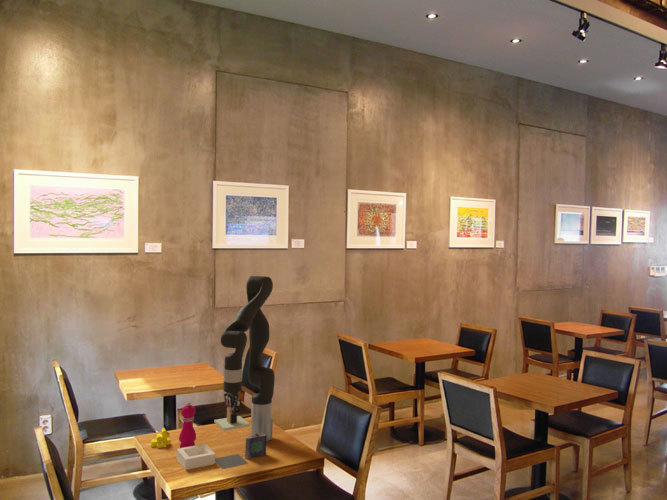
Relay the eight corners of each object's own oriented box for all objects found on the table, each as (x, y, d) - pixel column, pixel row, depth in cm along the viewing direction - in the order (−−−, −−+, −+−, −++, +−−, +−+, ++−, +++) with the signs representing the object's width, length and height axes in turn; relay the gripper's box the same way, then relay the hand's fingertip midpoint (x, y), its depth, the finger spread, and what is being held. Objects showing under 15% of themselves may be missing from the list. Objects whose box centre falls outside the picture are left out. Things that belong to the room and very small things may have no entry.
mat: (238, 454, 218) (238, 453, 218) (248, 464, 209) (248, 463, 209) (213, 459, 212) (213, 458, 212) (222, 470, 203) (222, 469, 203)
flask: (246, 460, 213) (247, 434, 213) (243, 457, 216) (244, 432, 216) (266, 456, 218) (267, 431, 218) (264, 453, 220) (264, 428, 220)
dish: (205, 454, 218) (205, 443, 218) (214, 464, 208) (215, 453, 208) (176, 459, 211) (177, 448, 211) (185, 471, 201) (185, 459, 201)
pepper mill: (191, 451, 220) (192, 405, 220) (175, 449, 221) (176, 403, 221) (198, 445, 227) (200, 400, 227) (183, 443, 228) (185, 398, 228)
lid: (239, 418, 218) (239, 401, 218) (249, 426, 209) (250, 409, 209) (214, 422, 212) (214, 405, 212) (223, 430, 203) (224, 413, 203)
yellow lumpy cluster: (150, 444, 227) (150, 426, 227) (169, 441, 230) (169, 424, 230) (152, 449, 222) (152, 431, 222) (171, 446, 225) (171, 428, 225)
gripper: (248, 382, 206) (247, 425, 207) (235, 374, 218) (234, 414, 219) (230, 384, 202) (229, 428, 203) (218, 376, 214) (217, 417, 215)
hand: (231, 421), depth 211 cm, fingers closed on lid, 3 cm apart
